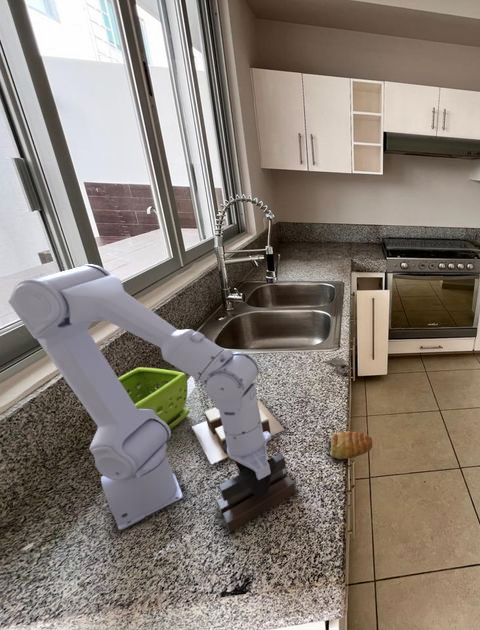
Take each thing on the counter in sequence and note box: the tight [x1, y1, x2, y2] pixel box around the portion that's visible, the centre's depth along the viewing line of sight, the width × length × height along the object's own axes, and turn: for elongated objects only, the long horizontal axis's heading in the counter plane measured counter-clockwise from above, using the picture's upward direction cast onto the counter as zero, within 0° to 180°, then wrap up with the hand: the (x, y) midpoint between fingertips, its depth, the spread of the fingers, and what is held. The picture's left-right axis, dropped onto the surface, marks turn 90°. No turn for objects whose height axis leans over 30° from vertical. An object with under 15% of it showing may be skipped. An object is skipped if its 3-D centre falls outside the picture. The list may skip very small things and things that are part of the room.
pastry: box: [329, 430, 373, 460], centre depth 77 cm, size 9×7×4 cm
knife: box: [218, 453, 287, 510], centre depth 64 cm, size 11×2×8 cm, turn 134°
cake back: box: [203, 406, 223, 435], centre depth 84 cm, size 10×5×4 cm, turn 134°
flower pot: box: [117, 366, 191, 431], centre depth 80 cm, size 14×14×13 cm
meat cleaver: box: [328, 357, 348, 376], centre depth 110 cm, size 12×1×5 cm
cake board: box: [191, 399, 286, 466], centre depth 82 cm, size 16×16×1 cm
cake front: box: [215, 410, 270, 453], centre depth 79 cm, size 10×5×4 cm, turn 134°
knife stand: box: [216, 468, 297, 534], centre depth 64 cm, size 12×6×2 cm, turn 134°
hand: (254, 483), depth 63 cm, fingers open, 6 cm apart
